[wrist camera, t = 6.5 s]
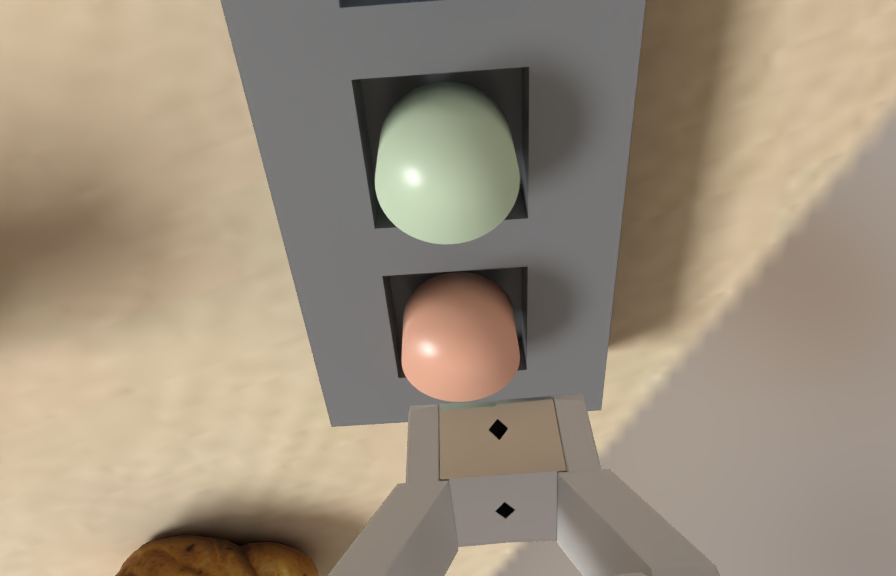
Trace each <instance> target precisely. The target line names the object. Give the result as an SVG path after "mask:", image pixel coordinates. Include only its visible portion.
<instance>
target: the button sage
mask: <svg viewBox="0 0 896 576" xmlns="http://www.w3.org/2000/svg"><path fill="white" fill-rule="evenodd" d="M519 186H520V174H519V168H518V163H517V158H516V154H515V149H514V144H513V140H512V135H511V131H510V126H509V123H508V121H507V118H506V116H505V114H504V113H503V111H502V109H501V108H500V107H499V106H498V104H497V103H496V102H495V101H494V100H493V99H492V98H491V97H489V96H488V95H487V94H485V93H484V92H482V91H480V90H479V89H477V88H475V87H472V86H469V85H466V84H462V83H457V82H435V83H430V84H426V85H423V86H420V87H418V88H416V89H414V90H412V91H410V92H408V93H407V94H405V95H404V96H403V97H402V98H400V99H399V100H398V101H397V102H396V103H395V104H394V105H393V107H392V108H391V109H390V111H389V112H388V114H387V116H386V118H385V120H384V122H383V125H382V128H381V133H380V140H379V148H378V156H377V164H376V172H375V190H376V195H377V199H378V201H379V204H380V206H381V208H382V210H383V211H384V213H385V214H386V216H387V217H388V218H389V220H390V221H391V222H392V223H393V224H394V225H395V226H396V227H398V228H399V229H400V230H401V231H403V232H405V233H406V234H408V235H410V236H412V237H414V238H416V239H419V240H422V241H425V242H429V243H434V244H458V243H464V242H468V241H471V240H474V239H477V238H479V237H481V236H483V235H485V234H487V233H489V232H490V231H492V230H493V229H494V228H496V227H497V226H498V225H499V224H500V223H501V222H502V221H503V220H504V219H505V218H506V217H507V215H508V214H509V213H510V211H511V210H512V208H513V206H514V204H515V201H516V199H517V196H518V192H519Z"/></svg>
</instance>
